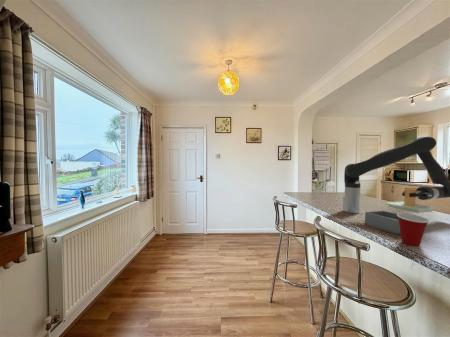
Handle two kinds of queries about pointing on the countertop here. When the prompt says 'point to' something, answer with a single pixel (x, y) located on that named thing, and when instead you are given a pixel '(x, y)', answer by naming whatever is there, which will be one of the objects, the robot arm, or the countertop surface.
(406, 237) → the plastic cup
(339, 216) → the countertop surface
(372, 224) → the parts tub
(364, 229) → the countertop surface
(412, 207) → the lid
